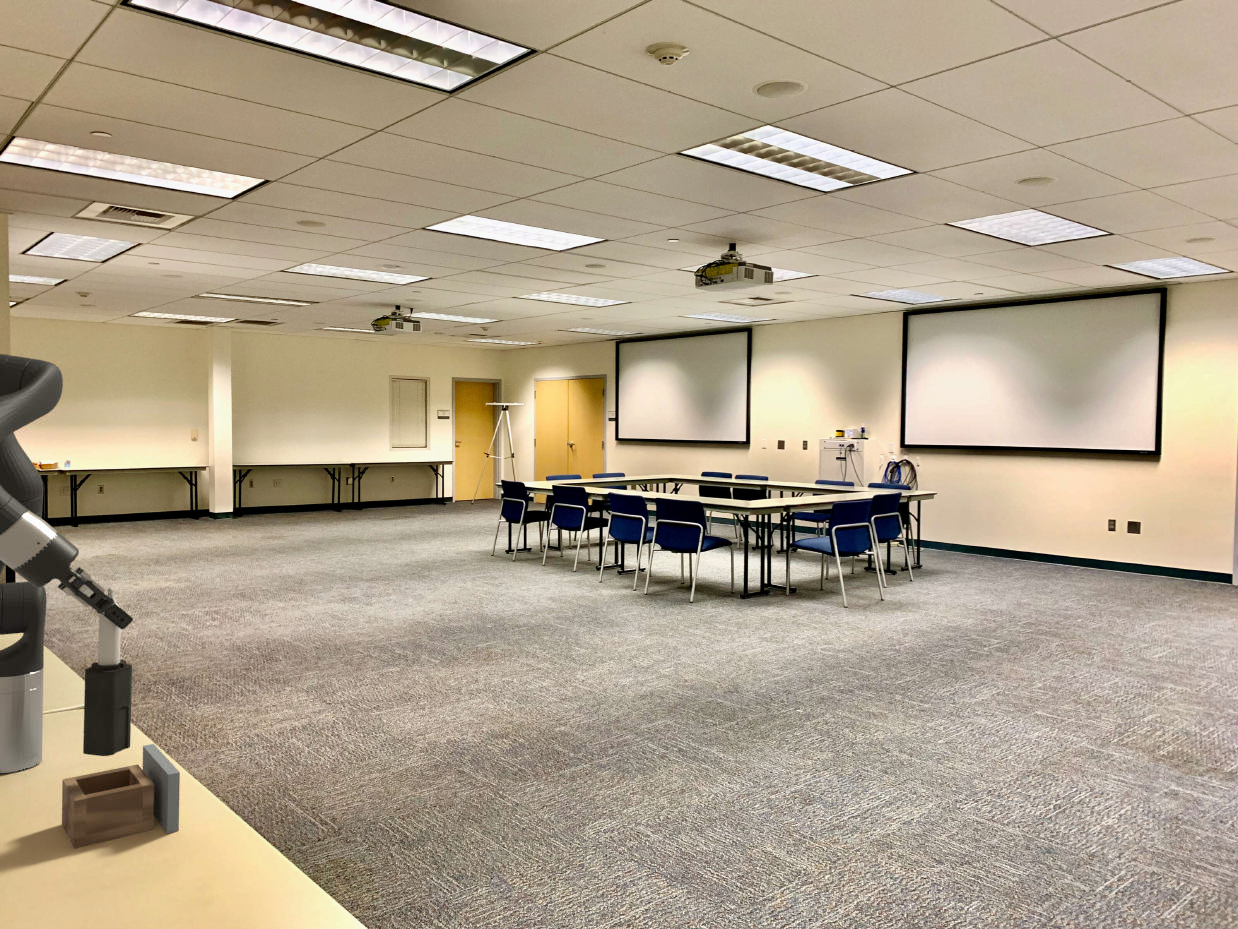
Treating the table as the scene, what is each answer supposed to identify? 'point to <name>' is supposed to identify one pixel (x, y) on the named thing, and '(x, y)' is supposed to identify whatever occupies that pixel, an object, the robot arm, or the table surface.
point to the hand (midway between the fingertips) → (124, 622)
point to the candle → (107, 695)
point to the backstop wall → (163, 787)
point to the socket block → (107, 805)
